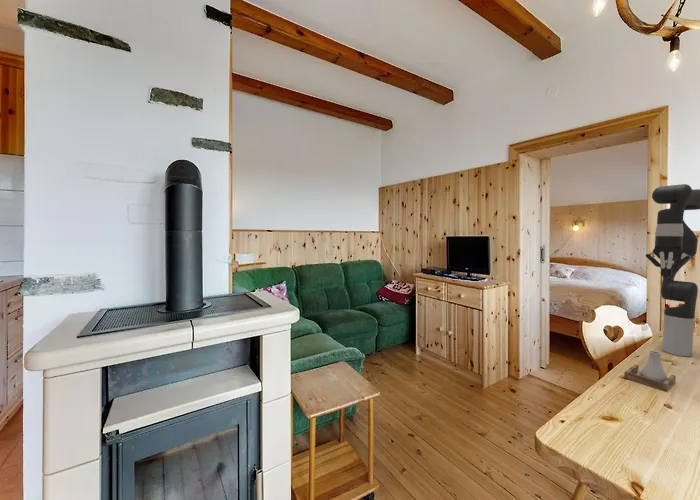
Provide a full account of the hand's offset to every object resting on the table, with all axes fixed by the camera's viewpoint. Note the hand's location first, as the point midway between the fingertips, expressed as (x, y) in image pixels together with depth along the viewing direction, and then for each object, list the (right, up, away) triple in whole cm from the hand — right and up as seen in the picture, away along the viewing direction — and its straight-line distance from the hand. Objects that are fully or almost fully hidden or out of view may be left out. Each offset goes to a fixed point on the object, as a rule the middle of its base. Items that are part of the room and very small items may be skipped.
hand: (666, 277), depth 118 cm
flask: (-13, -38, -7) cm, 41 cm away
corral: (-16, -38, -9) cm, 42 cm away
